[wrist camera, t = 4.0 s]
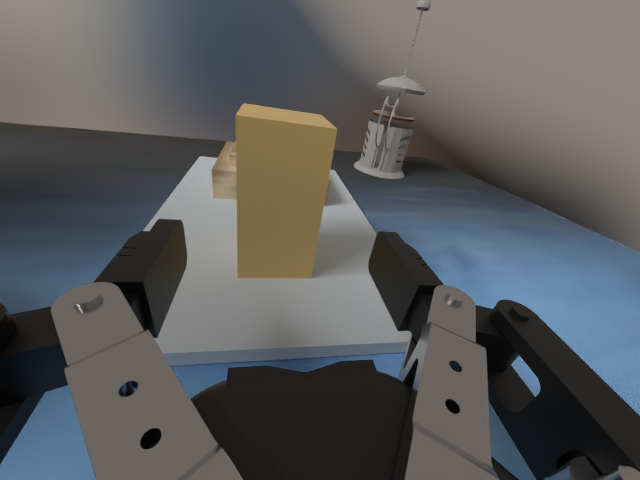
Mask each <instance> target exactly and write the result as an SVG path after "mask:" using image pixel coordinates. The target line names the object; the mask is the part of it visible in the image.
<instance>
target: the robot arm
mask: <svg viewBox="0 0 640 480" xmlns="http://www.w3.org/2000/svg"><path fill="white" fill-rule="evenodd" d="M186 265H187V248H186V241H185V233H184V225H183V222H182V220H175V219H158V220H157V221H156V223H155V224H154V225H153V227H152V228H151V230H150V231H141V232H139V233H138V234H136V235H134V236H133V237H131V238H129V239H128V241H127V242H126V243H125V244H124V246H123V247H122V249H120V251H119V252H118V253H117V254H116V257H114V258H113V259H112V260H111V262H110V263H109V264H108V265H107V267H106V268H105V269H104V270H103V271H102V273H101V274H100V275H99V276H98V278H97V279H96V280H95V281H94V283H89V284H85V285H81V286H78V287H76V288H73V289H71V290H69V291H67V292H66V293H64V294H63V295H61V296H60V297H59V298H58V299H57V300H56V301H55V302H54V303H53V305H52V307H47V308H42V309H37V310H32V311H27V312H22V313H17V314H11V315H10V314H9V313H8V311H7V310H6V308H5V307H4V305H2V304H1V303H0V464H1V462H2V460H3V459H4V457H5V456H6V454H7V452H8V451H9V449H10V448H11V446H12V444H13V443H14V441H15V439H16V438H17V436H18V435H19V433H20V431H21V430H22V428H23V427H24V425H25V423H26V422H27V420H28V418H29V417H30V415H31V414H32V412H33V410H34V409H35V407H36V406H37V404H38V402H39V401H40V399H41V397H42V396H43V394H44V393H45V392H47V391H50V390H53V389H56V388H60V387H63V386H66V385H69V389H70V392H71V395H72V399H73V402H74V406H75V409H76V412H77V416H78V419H79V423H80V426H81V429H82V433H83V436H84V439H85V443H86V446H87V450H88V453H89V456H90V460H91V463H92V467H93V470H94V473H95V477H96V480H518V479H517V478H516V477H515V476H514V475H512V474H511V473H510V472H509V471H508V470H507V469H505V468H504V467H503V466H502V465H501V464H500V463H498V462H497V461H496V460H495V459H494V458H493V457H491V443H490V421H489V402H490V404H491V406H492V407H493V409H494V411H495V412H496V414H497V415H498V417H499V419H500V420H501V422H502V424H503V425H504V427H505V429H506V430H507V432H508V434H509V435H510V437H511V438H512V440H513V442H514V443H515V445H516V447H517V448H518V450H519V452H520V453H521V455H522V457H523V458H524V460H525V461H526V463H527V465H528V466H529V468H530V470H531V471H532V473H533V475H534V476H535V478H536V480H640V416H639V415H638V414H637V413H636V412H635V411H634V410H633V409H632V408H631V407H630V406H629V405H628V404H627V403H626V402H625V401H624V400H623V399H622V398H621V397H620V396H619V395H618V394H617V393H616V392H615V391H614V390H613V389H612V388H611V387H610V386H609V385H608V384H607V383H606V382H604V381H603V380H602V379H601V378H600V377H599V376H598V375H597V374H596V373H595V372H594V371H593V370H592V369H591V368H590V367H589V366H588V365H587V364H586V363H585V362H584V361H583V360H582V359H581V358H580V357H579V356H578V355H577V354H576V353H575V352H574V351H573V350H572V349H571V348H570V347H569V346H568V345H567V344H566V343H565V342H564V341H563V340H562V339H561V338H560V337H559V336H558V335H557V334H556V333H555V332H554V331H552V330H551V329H550V328H549V327H548V326H547V325H546V324H545V323H544V322H543V321H542V320H541V319H540V318H539V317H538V316H537V315H536V314H535V313H534V312H533V311H531V310H530V309H528V308H527V307H525V306H523V305H521V304H519V303H517V302H514V301H511V300H500V301H499V302H498V303H497V304H496V306H495V307H494V309H490V308H485V307H481V306H477V305H475V303H474V302H473V300H472V299H471V298H470V297H469V296H468V295H467V294H466V293H464V292H463V291H461V290H459V289H457V288H454V287H452V286H447V285H443V283H442V282H441V281H440V280H439V278H438V277H437V276H436V275H435V273H434V272H433V271H432V270H431V268H430V267H429V266H427V263H426V262H425V261H424V260H422V257H421V256H420V255H419V254H418V252H417V251H416V250H415V249H413V248H412V247H410V246H409V245H408V244H405V242H404V241H403V240H402V239H401V237H400V236H399V235H398V234H397V233H396V232H379V233H378V234H377V236H376V239H375V242H374V245H373V248H372V251H371V255H370V258H369V262H368V269H369V273H370V275H371V277H372V279H373V281H374V283H375V286H376V288H377V290H378V292H379V294H380V296H381V298H382V300H383V302H384V304H385V306H386V308H387V310H388V312H389V314H390V316H391V318H392V320H393V322H394V324H395V326H396V328H397V330H398V331H410V332H411V334H412V335H411V337H410V339H409V341H408V345H407V348H406V352H405V355H404V359H403V362H402V366H401V369H400V373H399V376H398V379H397V378H395V377H392V376H390V375H388V374H385V373H382V372H378V371H376V368H375V365H374V362H373V360H357V361H340V362H337V363H334V364H331V365H328V366H325V367H322V368H319V369H316V370H313V371H310V372H298V371H293V370H288V369H282V368H277V367H272V366H252V367H235V368H228V374H227V380H226V381H223V382H220V383H218V384H216V385H213V386H211V387H209V388H207V389H205V390H204V391H202V392H200V393H199V394H197V395H196V396H194V397H193V398H191V399H190V398H189V396H188V394H187V393H186V391H185V389H184V388H183V386H182V384H181V383H180V381H179V379H178V378H177V376H176V374H175V373H174V371H173V369H172V368H171V366H170V364H169V363H168V361H167V359H166V358H165V356H164V354H163V353H162V351H161V349H160V348H159V346H158V344H157V343H156V341H155V339H154V338H157V337H158V335H159V333H160V330H161V328H162V325H163V323H164V320H165V318H166V316H167V313H168V311H169V308H170V306H171V303H172V301H173V298H174V296H175V294H176V291H177V289H178V286H179V284H180V281H181V279H182V277H183V274H184V272H185V269H186ZM519 355H520V356H521V358H522V359H523V360H524V361H525V363H526V364H527V365H528V366H529V367H530V369H531V370H532V371H533V372H534V374H535V375H536V376H537V378H538V379H539V382H540V386H541V390H540V393H539V394H538V395H537V396H536V397H535V396H534V395H533V394H532V392H531V391H530V390H529V388H528V387H527V386H526V385H525V383H524V382H523V381H522V379H521V378H520V377H519V375H518V374H517V373H516V371H515V370H514V369H513V367H512V366H511V364H512V363H513V362H514V360H515V359H516V358H517V357H518V356H519Z"/></svg>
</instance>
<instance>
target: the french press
mask: <svg viewBox="0 0 640 480" xmlns="http://www.w3.org/2000/svg"><path fill="white" fill-rule="evenodd" d="M416 8H417V9H418V10H421V14H420V18H419V22H418V25H417V29H416V33H415V36H414V40H413V44H412V48H411V51H410V55H409V59H408V62H407V66H406V70H405V73H404V76H401V77H391V78H388V79H385V80H383V81H381V82H379V83H378V84H377V87H378V88H383V89H389V90H394V91H400V92H399V96H398V99H397V102H396V103H395V106H390V105H389V104H388V102H389V96H388V97H387V98H386V100H385V103H384V105H383V108H382V111H379V110H375V111H373V113H374V114H375V115H376V116H378V115H379V116H380V117H379V120H369V124H368V128H369V130H370V133H369V132H368V131H367V133H366V134H367V137H368V140H367V139H366V138H365V144H366V146H365V145H364V146H363V150H364V152H362V154H361V159H360V160H359V161H357V162H356V163H355V164H354V167H355V168H356V169H358V170H360V171H362V172H364V173H367V174H369V175H372V176H377V177H381V178H389V179H400V178H403V177H404V173H403V171H402V170H401V168H402V165H403V162H399V163H397V162H396V161H397V160H399V161H403V160H404V158H405V155H401V156H398V155H397V154H399V153H401V154H405V153H406V152H407V146H408V145H409V143H410V140H409V139H410V138H411V137H412V133H413V128H412V127H409V126H406V125H402V124H398V123H393V122H391V119H392V120H398V121H406V122H412V121H414V118H413V117H410V116H405V115H404V116H403V115H400V114H399V115H398V114H396V112H395V111H396V108H397V106H398V105H399V101H400V99H399V97H400V93H401V92H405V93H411V94H417V95H424V94H425V93H426V92H425V91H424V89H423V88H422V86H420V85H419V84H418V83H417V82H415V81H413V80H410V79H408V78H407V77H406V76H405V75H406V71H407V67H408V64H409V60H410V57H411V53H412V49H413V46H414V42H415V38H416V35H417V31H418V27H419V24H420V20H421V16H422V12H423V11H427V10H429V8H430V1H429V0H420V1H419V2H418V4H417V7H416ZM386 102H387V106H388V107H391V108H393V111H392V113H391V112H388V113H387V112H386V111H385V112H384V111H383V110H384V107H385V104H386ZM394 110H395V111H394ZM381 117H383V118H387V119H390V120H389V122H388V121H382V120H380V119H381ZM401 138H404V139H406V140H405V141H403V142H402V141H400V140H401ZM400 146H402V147H405V148H402V149H400V148H398V147H400ZM364 153H365V154H364Z"/></svg>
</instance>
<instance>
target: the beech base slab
mask: <svg viewBox="0 0 640 480" xmlns="http://www.w3.org/2000/svg"><path fill="white" fill-rule="evenodd" d="M330 183H331V180H330V178H329V179H328V185H327V191H326V197H325V202H324V206H327V200H328V195H329V189H330ZM212 186H213V198H219V199H233V200H237V184H236V140H235V142H229V141H227V142H226V144H225V146H224V148H223V150H222V151H221V153H220V155H219V157H218V159H217V160H216V162H215V164H214V166H213V168H212Z"/></svg>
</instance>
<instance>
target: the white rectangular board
mask: <svg viewBox="0 0 640 480" xmlns="http://www.w3.org/2000/svg"><path fill="white" fill-rule="evenodd" d="M217 159H218V158H211V157H201V156H200V157H199V158H198V160H197V161H196V162H195V164H194V165H193V166H192V167H191V169H190V170H189V171H188V173H187V174H186V175H185V177H184V178H183V179H182V181H181V182H180V183H179V184H178V186H177V187H176V188H175V190H174V191H173V192H172V194H171V195H170V196H169V198H168V199H167V200H166V201H165V203H164V204H163V205H162V207H161V208H160V209H159V211H158V212H157V213H156V215H155V216H154V217H153V218H152V220H151V221H150V222H149V224H148V225H147V226H146V228H145V229H144V230H143V231H150V230H151V228H152V227H153V225H154V224H155V223H156V221H157V220H158V219H175V220H182V222H183V225H184V233H185V241H186V248H187V265H186V269H185V272H184V274H183V277H182V279H181V281H180V284H179V286H178V289H177V291H176V294H175V296H174V298H173V301H172V303H171V306H170V308H169V311H168V313H167V316H166V318H165V320H164V323H163V325H162V328H161V330H160V333H159V335H158V337H157V338H154V339H155V341H156V343H157V344H158V346H159V348H160V349H161V351H162V353H163V354H164V356H165V358H166V359H167V361H168V363H169V364H170V366H180V365H197V364H214V363H232V362H249V361H266V360H284V359H301V358H318V357H335V356H353V355H370V354H387V353H405V352H406V348H407V345H408V341H409V339H410V337H411V335H412V334H411V332H410V331H398V330H397V328H396V326H395V324H394V322H393V320H392V318H391V316H390V314H389V312H388V310H387V308H386V306H385V304H384V302H383V300H382V298H381V296H380V294H379V292H378V290H377V288H376V286H375V283H374V281H373V279H372V277H371V275H370V273H369V269H368V262H369V258H370V255H371V251H372V248H373V245H374V242H375V239H376V236H377V234H376V232H375V231H374V229H373V228H372V226H371V225H370V223H369V222H368V220H367V219H366V217H365V216H364V214H363V213H362V211H361V210H360V208H359V207H358V205H357V204H356V202H355V201H354V199H353V197H352V196H351V194H350V193H349V191H348V190H347V188H346V187H345V185H344V184H343V182H342V181H341V179H340V178H339V176H338V175H337V173H336V172H335V170H330V174H329V178H330V180H331V183H330V189H329V195H328V200H327V206H324V208H323V214H322V219H321V225H320V231H319V236H318V242H317V248H316V254H315V259H314V265H313V271H312V276H311V279H304V278H237V200H233V199H219V198H213V186H212V168H213V166H214V164H215V162H216V160H217Z"/></svg>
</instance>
